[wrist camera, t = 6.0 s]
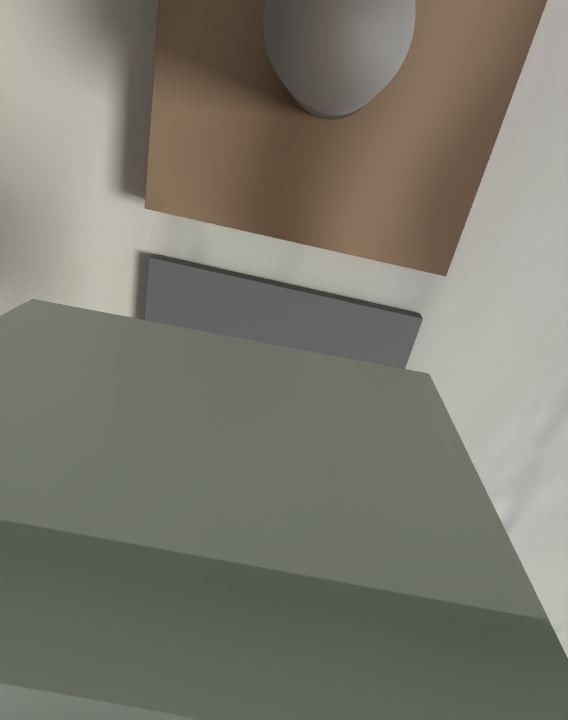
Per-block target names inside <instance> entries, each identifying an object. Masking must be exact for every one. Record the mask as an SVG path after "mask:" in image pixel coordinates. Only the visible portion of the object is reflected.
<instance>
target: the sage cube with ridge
mask: <svg viewBox="0 0 568 720" xmlns="http://www.w3.org/2000/svg"><path fill="white" fill-rule="evenodd" d="M0 720H568V658H567V656H566V654H565V652H564V650H563V648H562V646H561V644H560V642H559V640H558V638H557V636H556V633H555V631H554V629H553V627H552V625H551V623H550V621H549V619H548V617H547V615H546V613H545V611H544V609H543V607H542V605H541V603H540V601H539V599H538V596H537V594H536V592H535V590H534V588H533V586H532V584H531V582H530V580H529V578H528V576H527V574H526V572H525V570H524V568H523V566H522V564H521V562H520V560H519V557H518V555H517V553H516V551H515V549H514V547H513V545H512V543H511V541H510V539H509V537H508V535H507V533H506V531H505V529H504V527H503V525H502V523H501V520H500V518H499V516H498V514H497V512H496V510H495V508H494V506H493V504H492V502H491V500H490V498H489V496H488V494H487V492H486V490H485V488H484V486H483V483H482V481H481V479H480V477H479V475H478V473H477V471H476V469H475V467H474V465H473V463H472V461H471V459H470V457H469V455H468V453H467V451H466V449H465V447H464V444H463V442H462V440H461V438H460V436H459V434H458V432H457V430H456V428H455V426H454V424H453V422H452V420H451V418H450V416H449V414H448V412H447V410H446V407H445V405H444V403H443V401H442V399H441V397H440V395H439V393H438V391H437V389H436V387H435V385H434V383H433V381H432V379H431V377H430V375H429V374H428V373H423V372H417V371H412V370H407V369H401V368H396V367H391V366H386V365H380V364H375V363H370V362H364V361H359V360H354V359H348V358H343V357H338V356H332V355H327V354H322V353H317V352H311V351H306V350H301V349H295V348H290V347H285V346H279V345H274V344H269V343H263V342H258V341H253V340H248V339H242V338H237V337H232V336H226V335H221V334H216V333H210V332H205V331H200V330H194V329H189V328H184V327H179V326H173V325H168V324H163V323H157V322H152V321H147V320H141V319H136V318H131V317H125V316H120V315H115V314H110V313H104V312H99V311H94V310H88V309H83V308H78V307H72V306H67V305H62V304H56V303H51V302H46V301H41V300H35V299H32V300H30V301H28V302H26V303H24V304H22V305H20V306H18V307H16V308H14V309H13V310H11V311H9V312H7V313H5V314H3V315H1V316H0Z"/></svg>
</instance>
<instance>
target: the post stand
mask: <svg viewBox="0 0 568 720" xmlns="http://www.w3.org/2000/svg"><path fill="white" fill-rule="evenodd" d="M546 2H547V0H159V8H158V23H157V37H156V51H155V66H154V80H153V95H152V109H151V123H150V138H149V152H148V166H147V181H146V195H145V209H150V210H154V211H159V212H163V213H167V214H172V215H176V216H181V217H185V218H190V219H194V220H199V221H203V222H207V223H212V224H216V225H221V226H225V227H230V228H234V229H238V230H243V231H247V232H252V233H256V234H261V235H265V236H270V237H274V238H278V239H283V240H287V241H292V242H296V243H301V244H305V245H309V246H314V247H318V248H323V249H327V250H332V251H336V252H341V253H345V254H349V255H354V256H358V257H363V258H367V259H372V260H376V261H381V262H385V263H389V264H394V265H398V266H403V267H407V268H412V269H416V270H420V271H425V272H429V273H434V274H438V275H443V276H446V275H447V272H448V269H449V267H450V264H451V261H452V258H453V256H454V253H455V250H456V248H457V245H458V242H459V239H460V237H461V234H462V231H463V228H464V226H465V223H466V220H467V218H468V215H469V212H470V209H471V207H472V204H473V201H474V198H475V196H476V193H477V190H478V188H479V185H480V182H481V179H482V177H483V174H484V171H485V169H486V166H487V163H488V160H489V158H490V155H491V152H492V149H493V147H494V144H495V141H496V139H497V136H498V133H499V130H500V128H501V125H502V122H503V120H504V117H505V114H506V111H507V109H508V106H509V103H510V100H511V98H512V95H513V92H514V90H515V87H516V84H517V81H518V79H519V76H520V73H521V70H522V68H523V65H524V62H525V60H526V57H527V54H528V51H529V49H530V46H531V43H532V41H533V38H534V35H535V32H536V30H537V27H538V24H539V21H540V19H541V16H542V13H543V11H544V8H545V5H546Z"/></svg>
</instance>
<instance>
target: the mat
mask: <svg viewBox="0 0 568 720" xmlns="http://www.w3.org/2000/svg"><path fill="white" fill-rule="evenodd" d="M144 320H147V321H152V322H157V323H163V324H168V325H173V326H179V327H184V328H189V329H194V330H200V331H205V332H210V333H216V334H221V335H226V336H232V337H237V338H242V339H248V340H253V341H258V342H263V343H269V344H274V345H279V346H285V347H290V348H295V349H301V350H306V351H311V352H317V353H322V354H327V355H332V356H338V357H343V358H348V359H354V360H359V361H364V362H370V363H375V364H380V365H386V366H391V367H396V368H401V369H405V367H406V364H407V361H408V359H409V356H410V353H411V350H412V348H413V345H414V342H415V339H416V336H417V334H418V331H419V328H420V325H421V322H422V320H423V318H422V316H421V315H420V314H419V313H415V312H410V311H406V310H401V309H397V308H392V307H388V306H383V305H379V304H374V303H370V302H365V301H361V300H357V299H352V298H348V297H343V296H339V295H334V294H330V293H325V292H321V291H316V290H312V289H307V288H303V287H299V286H294V285H290V284H285V283H281V282H276V281H272V280H267V279H263V278H258V277H254V276H249V275H245V274H241V273H236V272H232V271H227V270H223V269H218V268H214V267H209V266H205V265H200V264H196V263H191V262H187V261H182V260H178V259H174V258H169V257H165V256H160V255H156V254H154V255H152V256H151V257H149V265H148V278H147V291H146V304H145V317H144Z"/></svg>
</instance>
